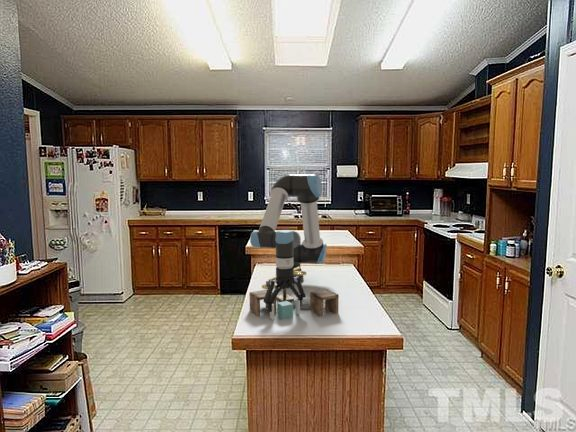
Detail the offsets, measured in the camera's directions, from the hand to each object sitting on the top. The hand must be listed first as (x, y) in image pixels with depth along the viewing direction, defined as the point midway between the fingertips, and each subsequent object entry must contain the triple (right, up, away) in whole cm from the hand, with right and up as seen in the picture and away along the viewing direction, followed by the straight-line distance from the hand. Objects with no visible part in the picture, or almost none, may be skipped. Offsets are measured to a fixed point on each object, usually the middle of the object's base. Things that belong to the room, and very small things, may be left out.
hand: (285, 316), depth 171 cm
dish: (+9, +2, +15) cm, 18 cm away
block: (0, 0, 0) cm, 0 cm away
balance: (0, +2, +22) cm, 22 cm away
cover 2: (+17, +1, +6) cm, 18 cm away
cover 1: (-10, 0, +6) cm, 12 cm away
